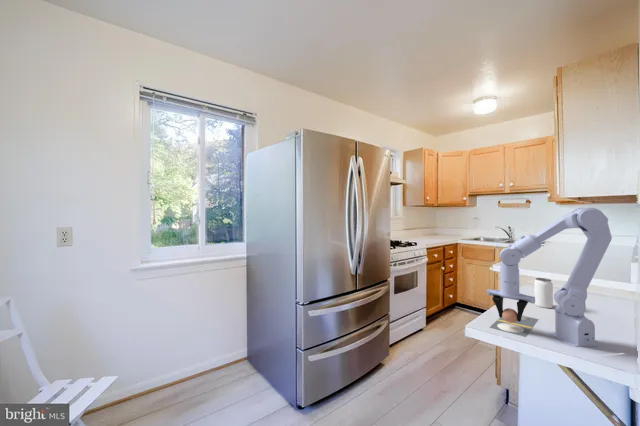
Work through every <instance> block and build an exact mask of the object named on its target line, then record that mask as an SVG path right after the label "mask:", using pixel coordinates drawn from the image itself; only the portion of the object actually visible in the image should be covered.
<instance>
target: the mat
mask: <svg viewBox="0 0 640 426" xmlns="http://www.w3.org/2000/svg"><path fill="white" fill-rule="evenodd" d="M538 321H539V318H536V317H535V318H534V317H529V316H525V315H523V314H522V318H521V321H520V322H519V321H516V322H515V323H509V322H506V321H505V320H504V319H503V317H499V318H498V319H496V321H494V322H493V323H492V324H491V325H490V326H489V329H493V330H497V331H501V332H505V333H509V334H513V335H517V336H520V337H524V338H527V336H528V335H529V333H530V332H531V330H532V329H533V328H534V326H535V325H536V323H537V322H538ZM500 323H507V324H513V325H516V326H519V327H521V328H523V329H524V332H522V333H512V332H507V331H504V330H501V329H499V328H498V327H497V325H498V324H500Z"/></svg>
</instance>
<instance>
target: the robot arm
mask: <svg viewBox="0 0 640 426" xmlns="http://www.w3.org/2000/svg"><path fill="white" fill-rule="evenodd" d="M570 229H580V230H581V231H582V233H583V234H584V235H585V237H586V238H587V239H586V242H585V244H584V246H583V248H582V250H581V252H580V254H579V256H578V258H577V260H576V261H575V265H574V266H573V268H572V271H571V272H570V275H569V277H568V279H567V281H566V282H564V283H563V284H562V286H561V287H560V289H558V290H557V291H555V293H553V300H554V301H555V303H556V304H557V306H556V307H555V308H554V316H555V317H554V319H555V320H554V322H555V323H554V327H555V328H554V329H555V330H554V331H555V332H554V331H553V332H548V335H550V336H552V337H554V338H557V339H558V340H560V341H562V342H565V343H567V344H569V345H571V346H573V347H589V346H591V347H592V346H598V343H596V328H595V324H594V322H593V321H592V320H591V319H589V318H588V317H586V316H585V312H586V309H587V305H586V300H587V298H588V288H589V286H590V284H591V282H592V280H593V278H594V276H595V274H596V272H597V270H598V268H599V266H600V264H601V261H602V260H603V258H604V256H605V253H606V252H607V250H608V248H609V246H610V243H611V241H612V239H613V238H612V233H611V230H610V226H609V218H608V217H607V215H605V214H604V213H603V211H602V210H601V209H599V208H596V207H579V208H575V209H574V210H572V211H570V212H568V213H566V214H563V215H562V216H561V217H558V218H557V219H556V220H555V221H552V222H551V223H550V224H548V225H547V226H545V227H544V228H542V229H540V230H539V231H538V232H536V233H534V234H526V235H524V234H523V235H520V237H519V238H520V239H518V240H516V241H515V242H513V243H512V244H511V243H509V244H508V245H507V246H508V247H504V248H503V249H501V250H500V252H499V255H498V257H499V259H500V260H501V261H500V263H499V264H500V265H499V266H500V268H499V269H500V270H499V276H500V278H499V280H500V281H499V283H500V284H499V285H500V289H491V288H487V289H486V296H492V298H491V299H492V301H493V303H494V305H495V307H496V309H497V313H498V317H499V318H500V317H502V312H503V310H504V307H503V306H504V299H510V300H514V301H517V302H516V308H517V309H516V310H517V314H518V316H517V321H519V322H520V321H521V318H522V315H523V313H524V310H525V308H526V307H527V305H528V304H529V303H530V304H533V305H535V297H534V296H532V295H529V294H528V295H527V294H525V293H524V294H523V293H520V269H519V264H520V262H521V260H522V259H524V258H526V257H528V256H530V255H531V254H533V253H534V252H536V251H538V250H539V249H541V248H542V243H543V242H545V241H546V240H548V239H550V238H552V237H554V236H555V235H557V234H559V233H561V232H562V231H564V230H570Z"/></svg>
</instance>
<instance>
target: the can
mask: <svg viewBox="0 0 640 426" xmlns="http://www.w3.org/2000/svg"><path fill="white" fill-rule="evenodd" d="M534 279H535V280H534V283H533V286H534V287H533V288H534V289H533V293H534V294H533V295H534V296H533V297H535V303H534V305H535V306H536V307H538V308H540V309H541V308H542V309H552V308H554V292H553V291H554V290H553V289H554V287H553V285H554V284H553V282H552V280H551V279H549V278H544V277H536V278H534Z"/></svg>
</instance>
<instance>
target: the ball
mask: <svg viewBox="0 0 640 426" xmlns="http://www.w3.org/2000/svg"><path fill="white" fill-rule="evenodd" d="M517 316H518V311H516V310H515V309H513V308H510V307H507V308H503V312H502V317H503V319H504V320H505V321H506V322H509V323H515V322H516V321H517Z"/></svg>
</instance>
